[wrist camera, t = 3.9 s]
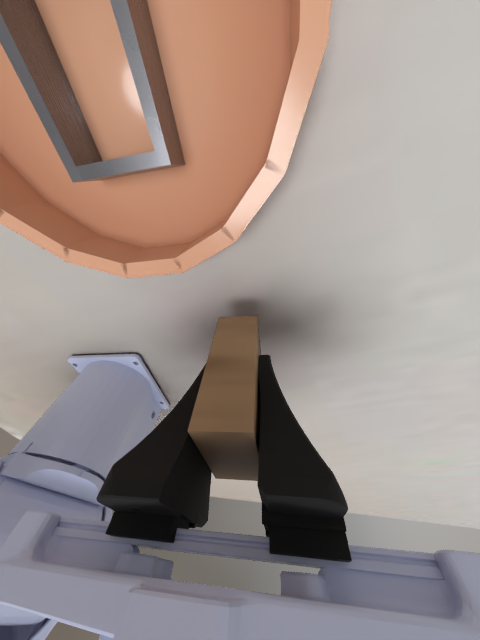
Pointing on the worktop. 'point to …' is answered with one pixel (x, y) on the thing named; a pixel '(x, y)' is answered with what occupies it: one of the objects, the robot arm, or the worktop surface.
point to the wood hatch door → (230, 401)
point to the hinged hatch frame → (62, 106)
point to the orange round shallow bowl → (134, 138)
